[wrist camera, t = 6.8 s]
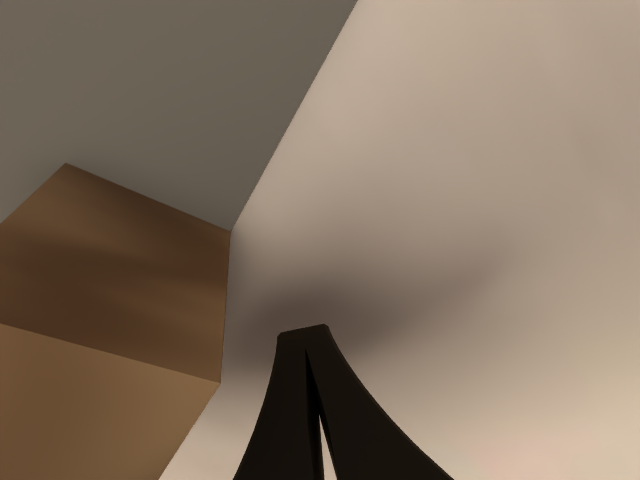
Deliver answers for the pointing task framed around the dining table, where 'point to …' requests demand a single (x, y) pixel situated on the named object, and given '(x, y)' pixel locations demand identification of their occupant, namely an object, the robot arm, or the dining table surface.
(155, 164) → the mat
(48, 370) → the block
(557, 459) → the dining table surface
